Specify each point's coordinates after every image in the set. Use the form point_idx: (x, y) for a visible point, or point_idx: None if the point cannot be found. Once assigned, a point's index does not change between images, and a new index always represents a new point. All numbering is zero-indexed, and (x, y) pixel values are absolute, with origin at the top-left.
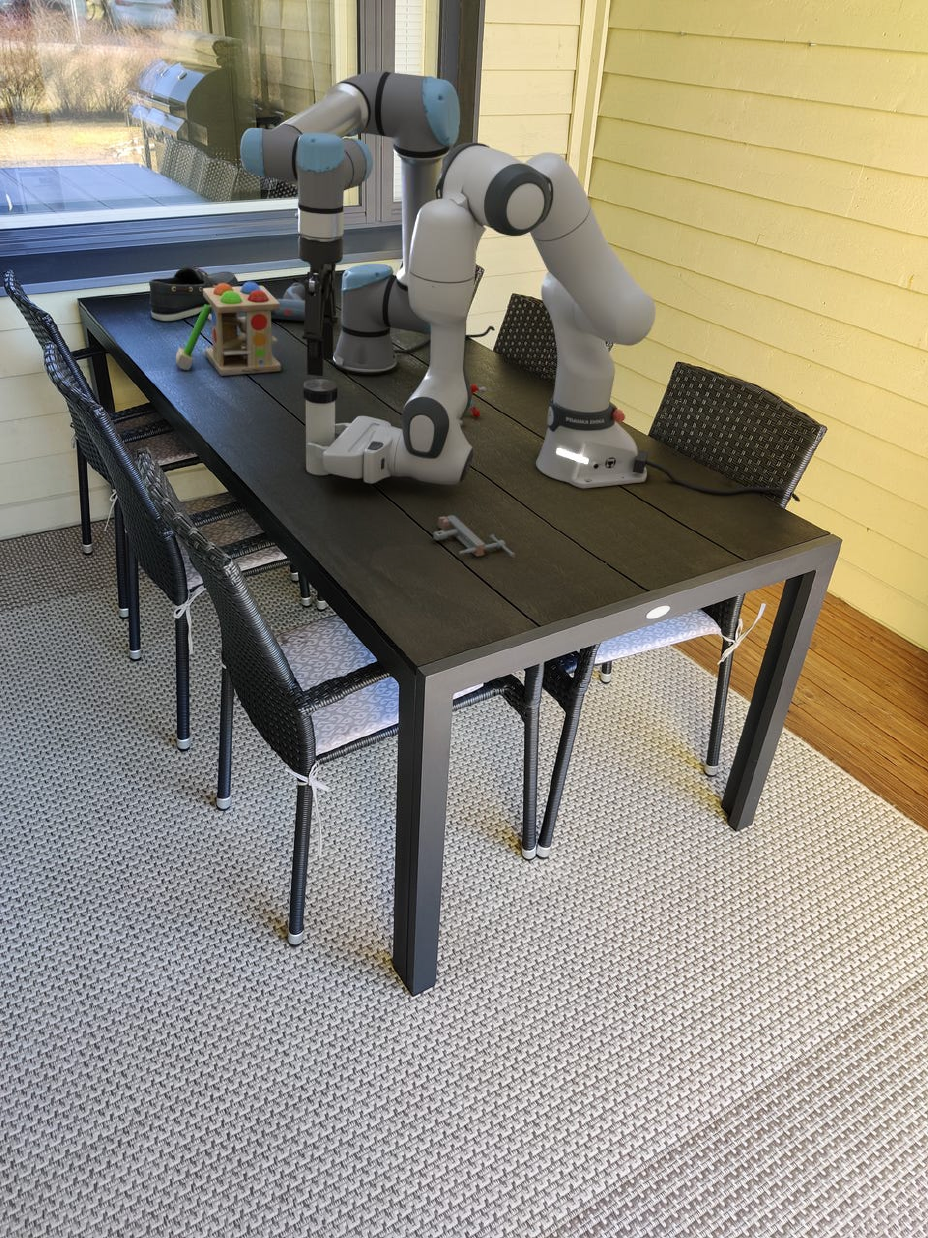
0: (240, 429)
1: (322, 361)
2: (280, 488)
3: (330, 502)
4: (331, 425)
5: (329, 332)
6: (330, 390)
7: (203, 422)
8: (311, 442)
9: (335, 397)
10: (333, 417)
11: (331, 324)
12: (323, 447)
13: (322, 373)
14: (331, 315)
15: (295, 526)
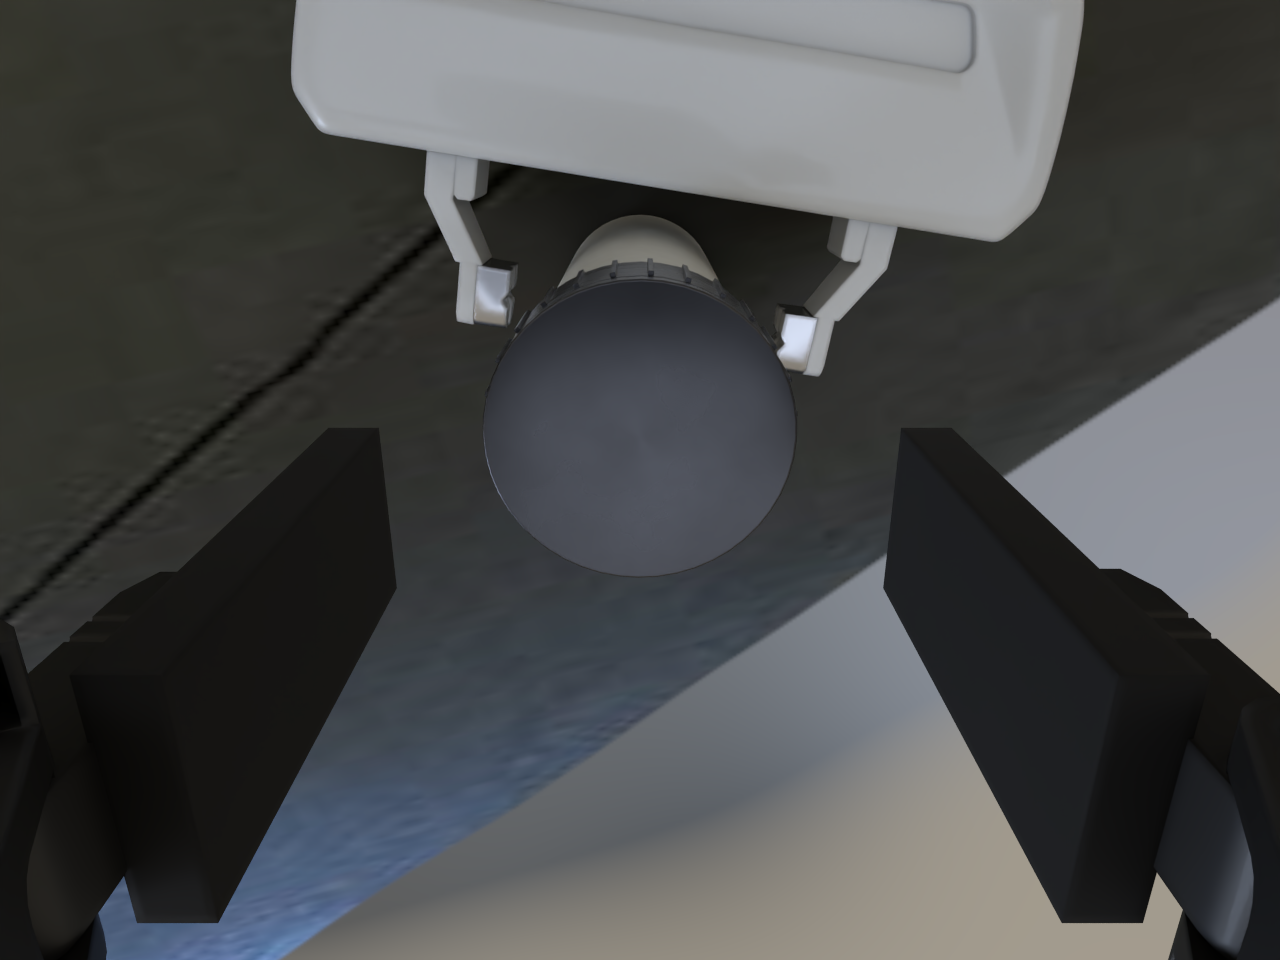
0: (337, 731)
1: (1005, 494)
2: (891, 427)
3: None
4: (691, 261)
5: (248, 643)
6: (747, 319)
7: (332, 871)
8: (794, 355)
9: (670, 268)
10: (670, 258)
11: (122, 703)
12: (866, 264)
13: (949, 436)
14: (8, 856)
15: (1269, 269)
